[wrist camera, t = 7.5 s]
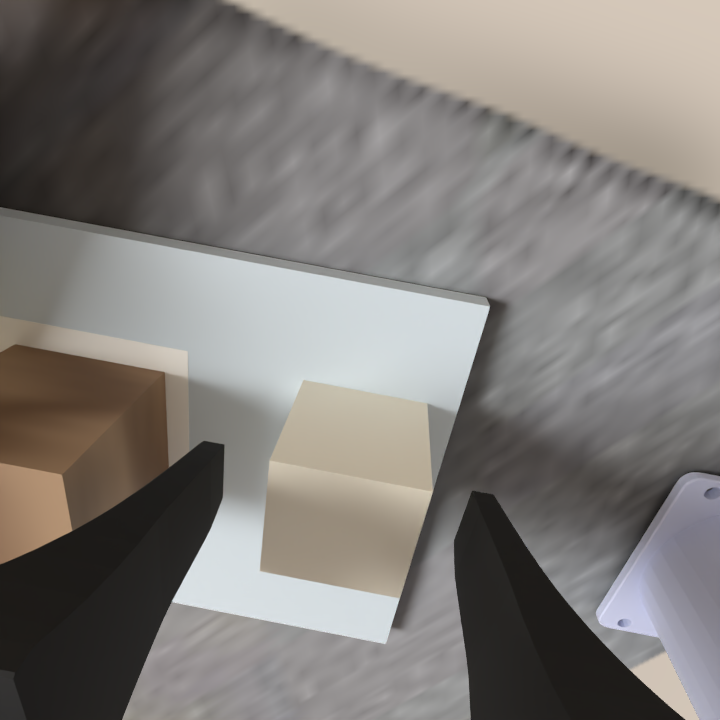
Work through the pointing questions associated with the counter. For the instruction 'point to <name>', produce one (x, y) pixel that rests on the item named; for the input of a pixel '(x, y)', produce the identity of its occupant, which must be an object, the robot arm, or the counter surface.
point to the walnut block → (73, 441)
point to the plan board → (239, 371)
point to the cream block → (348, 489)
